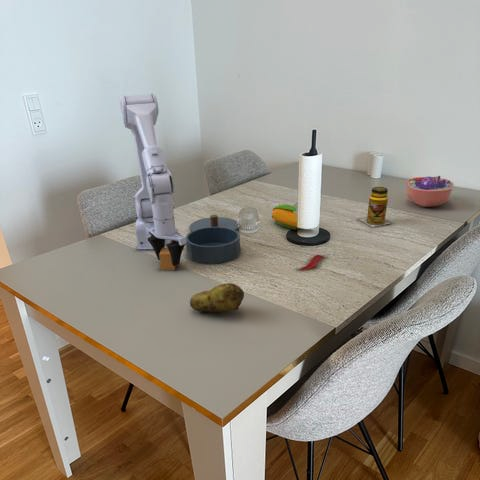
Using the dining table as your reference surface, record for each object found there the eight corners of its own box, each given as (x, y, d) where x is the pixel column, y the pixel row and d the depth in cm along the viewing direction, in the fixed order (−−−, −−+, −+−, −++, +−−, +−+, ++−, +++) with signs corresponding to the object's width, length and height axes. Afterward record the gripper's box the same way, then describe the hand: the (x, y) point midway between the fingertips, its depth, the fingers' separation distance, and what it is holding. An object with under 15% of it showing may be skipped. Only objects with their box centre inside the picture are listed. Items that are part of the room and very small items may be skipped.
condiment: (373, 227, 159) (377, 192, 153) (358, 219, 166) (362, 186, 160) (390, 224, 162) (395, 189, 156) (375, 216, 168) (379, 183, 162)
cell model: (454, 200, 182) (461, 171, 176) (443, 215, 168) (449, 184, 162) (410, 194, 190) (415, 166, 184) (396, 208, 175) (400, 178, 170)
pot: (183, 263, 138) (181, 246, 135) (191, 242, 152) (190, 226, 149) (238, 264, 137) (237, 246, 134) (241, 242, 151) (241, 226, 148)
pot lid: (191, 239, 154) (190, 226, 152) (188, 221, 169) (187, 209, 167) (242, 235, 156) (242, 222, 154) (235, 218, 171) (235, 206, 168)
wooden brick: (161, 269, 135) (159, 253, 132) (164, 263, 139) (162, 247, 136) (174, 269, 135) (172, 253, 132) (177, 263, 139) (175, 247, 136)
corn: (280, 197, 165) (325, 210, 152) (281, 218, 169) (325, 232, 156) (266, 204, 161) (311, 217, 148) (267, 224, 165) (310, 239, 153)
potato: (206, 298, 120) (204, 270, 115) (249, 311, 114) (248, 282, 109) (186, 313, 114) (183, 283, 110) (230, 327, 108) (229, 297, 104)
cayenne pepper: (304, 272, 131) (304, 266, 130) (292, 267, 134) (292, 261, 133) (332, 260, 138) (333, 254, 137) (320, 256, 141) (321, 250, 140)
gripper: (192, 218, 128) (196, 263, 135) (157, 208, 136) (162, 251, 143) (173, 225, 123) (178, 272, 130) (138, 215, 131) (144, 259, 138)
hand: (168, 262), depth 136 cm, fingers closed on wooden brick, 6 cm apart
